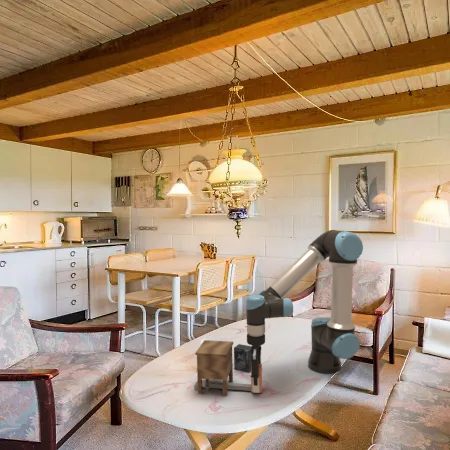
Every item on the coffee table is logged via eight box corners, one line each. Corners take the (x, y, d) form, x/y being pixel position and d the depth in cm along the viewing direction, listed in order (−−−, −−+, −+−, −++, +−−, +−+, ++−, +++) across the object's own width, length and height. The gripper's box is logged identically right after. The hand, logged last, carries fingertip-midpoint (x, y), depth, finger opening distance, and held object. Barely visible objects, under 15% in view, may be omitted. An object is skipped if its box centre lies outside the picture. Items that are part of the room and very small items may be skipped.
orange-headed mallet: (262, 387, 163) (261, 364, 162) (261, 392, 158) (260, 368, 158) (210, 383, 167) (210, 361, 167) (208, 388, 163) (207, 365, 162)
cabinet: (234, 380, 172) (233, 341, 171) (227, 396, 157) (226, 354, 156) (205, 378, 174) (204, 340, 173) (196, 394, 160) (195, 352, 159)
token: (211, 385, 168) (211, 380, 168) (208, 391, 162) (208, 386, 162) (198, 384, 169) (198, 379, 169) (194, 390, 163) (194, 385, 163)
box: (233, 369, 183) (233, 347, 182) (239, 365, 188) (239, 343, 187) (249, 372, 179) (248, 350, 178) (254, 368, 184) (253, 346, 183)
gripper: (249, 326, 169) (250, 379, 170) (243, 340, 152) (244, 398, 153) (267, 327, 168) (267, 380, 169) (262, 341, 150) (263, 400, 152)
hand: (256, 389), depth 161 cm, fingers closed on orange-headed mallet, 4 cm apart
